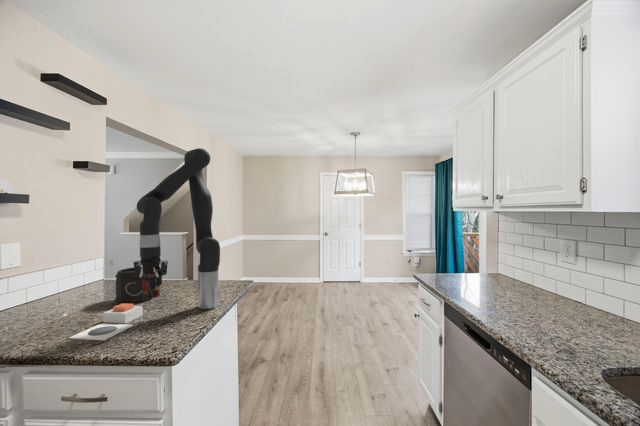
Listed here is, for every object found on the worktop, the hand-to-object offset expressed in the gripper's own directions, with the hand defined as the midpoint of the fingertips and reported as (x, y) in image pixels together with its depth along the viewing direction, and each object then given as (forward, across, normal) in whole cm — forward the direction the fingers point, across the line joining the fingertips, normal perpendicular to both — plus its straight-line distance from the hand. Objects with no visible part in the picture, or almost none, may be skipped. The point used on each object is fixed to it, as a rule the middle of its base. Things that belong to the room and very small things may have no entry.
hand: (151, 285), depth 126 cm
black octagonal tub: (+15, +29, -29) cm, 44 cm away
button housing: (+15, +14, -2) cm, 21 cm away
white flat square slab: (+15, +12, +12) cm, 22 cm away
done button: (+12, +14, -2) cm, 19 cm away
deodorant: (+5, 0, 0) cm, 5 cm away
